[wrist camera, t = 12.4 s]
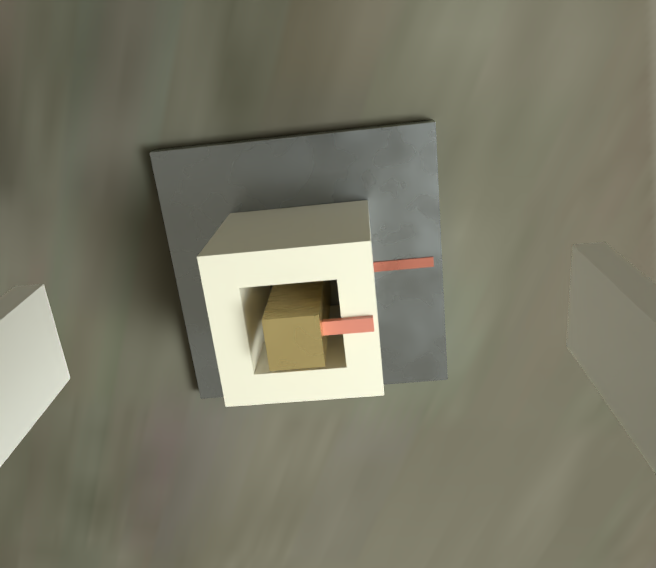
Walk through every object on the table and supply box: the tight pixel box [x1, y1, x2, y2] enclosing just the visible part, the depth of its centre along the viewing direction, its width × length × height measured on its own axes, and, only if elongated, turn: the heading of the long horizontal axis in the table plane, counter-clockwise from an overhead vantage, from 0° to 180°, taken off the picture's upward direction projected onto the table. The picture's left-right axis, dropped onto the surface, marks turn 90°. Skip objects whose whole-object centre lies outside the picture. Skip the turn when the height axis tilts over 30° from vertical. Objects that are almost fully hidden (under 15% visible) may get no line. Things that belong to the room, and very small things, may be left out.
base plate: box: [150, 120, 448, 399], centre depth 33 cm, size 16×16×10 cm
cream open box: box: [197, 200, 384, 407], centre depth 33 cm, size 8×8×8 cm
